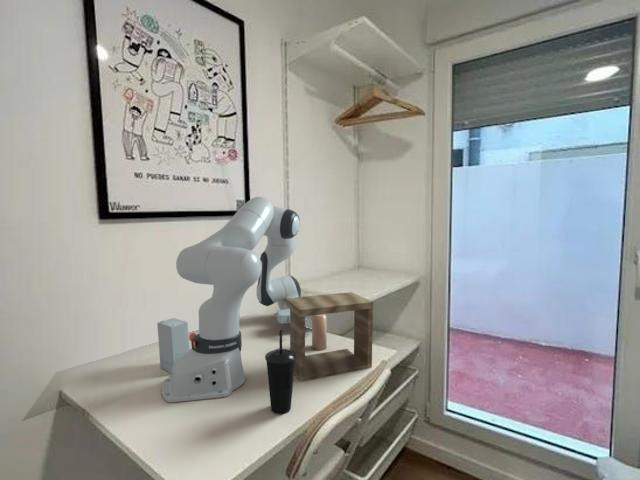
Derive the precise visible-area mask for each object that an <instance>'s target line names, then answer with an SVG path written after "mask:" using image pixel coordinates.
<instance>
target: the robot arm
mask: <svg viewBox="0 0 640 480" xmlns="http://www.w3.org/2000/svg"><path fill="white" fill-rule="evenodd" d="M300 220H301V219H300V216H299V214H298V213H297V212H296V211H294V210H292V209H289V208H287V209H285V208H281V207H279V206H274V205H273V204H272V202H271V201H270V200H268V199H267V198H265V197H262V196H255V197H253V198H251V199H249V200H248V201H246V203H244V204H243V205H241V207H240V208H239V209H238V210H237V211H236V212H235V214H233V216H231V218H230V219H229V220H228V222H227V223H226V224H225V225H224V226H223V227H222V228H220V229H219V230H217V231H216V232H215V233H213V234H211V235H210V236H209V237H206V238H205V239H204V240H202V241H200V242H198V243H196V244H192V245H191V246H187V247H185V248H183V249H182V250H181V251H180V252H179V254H178V256H177V258H176V263H175V269H176V271H177V274H178V275H179V276H180V278H182V279H184V280H186V281H189V282H192V283H195V284H200V285H210V286H213V291H212V294H211V297H210V298H208V299H206V300H205V301H203V302H202V304H201V305H200V306H199V308H198V333H197V334H196V333H194V332H191V333H189V334H188V337H189V342H191V343H190V345H191V349H190V348H189V351H188V352H187V353H185V354H184V355H183V356H182V357H181V358H179V359H178V360H177V361H176V362H175V363H174V365H173V368H172V371H171V373H170V375H169V376H168V377H166V378H165V379H164V381H163V382H162V384H161V385H162V386H161V396H162V397H161V398H162V399H163V400H165V401H166V403H178V402H188V401H197V400H199V401H200V400H208V399H217V398H219V399H220V398H227V397H228V396H230V395H231V393H232V392H233V391H234V390H236V389H238V388H239V387H241V386H242V385H243V384H244V383H245V382H246V379H247V376H246V374H245V371H244V370H245V369H244V366H243V360H242V344H243V342H242V341H243V340H242V339H243V337H242V332H241V329H240V317H241V315H240V314H241V305H242V300H243V298H244V296H245V294H246V293H247V291H248V290H249V288H251V287H252V286H253V285H255V284H256V283H257V286H256V298H257V300H258V303H259V304H260V305H263V306H265V307H270V306H272V305H274V304H276V303H277V306H278V309H279V310H277V311H276V312H275V313H273V316H274V317H275V318H276V320H277V323H279V324H283V325H284V324H290V308H289V307H287V306H286V305H285V299H286V298H296V297H302V296H301V294H302V290H301V286H300V284H299V283H300V282H299V281H298V280H297V278H295V277H294V276H292V275H290V274H288V275H285V276H281V277H279V278H276V279H272V280H271V273H272V270H273V269H274V268H276V266H278V265H279V264H281V263H282V262H284V261H286V260H287V259H289V258H290V257H291V256H292V255H293V253H294V252H295V249H296V236H297V234H298V232H299V230H300V224H301V222H300ZM263 236H265V237H266V238H267V244H266V246H265V248H264V251H263V252H262V253H260V256H259V255H258V253H257V252H256V251H254V249H255V248H256V247H257V245H258V243H259V242H260V241H261V239H262V238H263ZM306 321H312V316H305V322H306Z"/></svg>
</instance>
